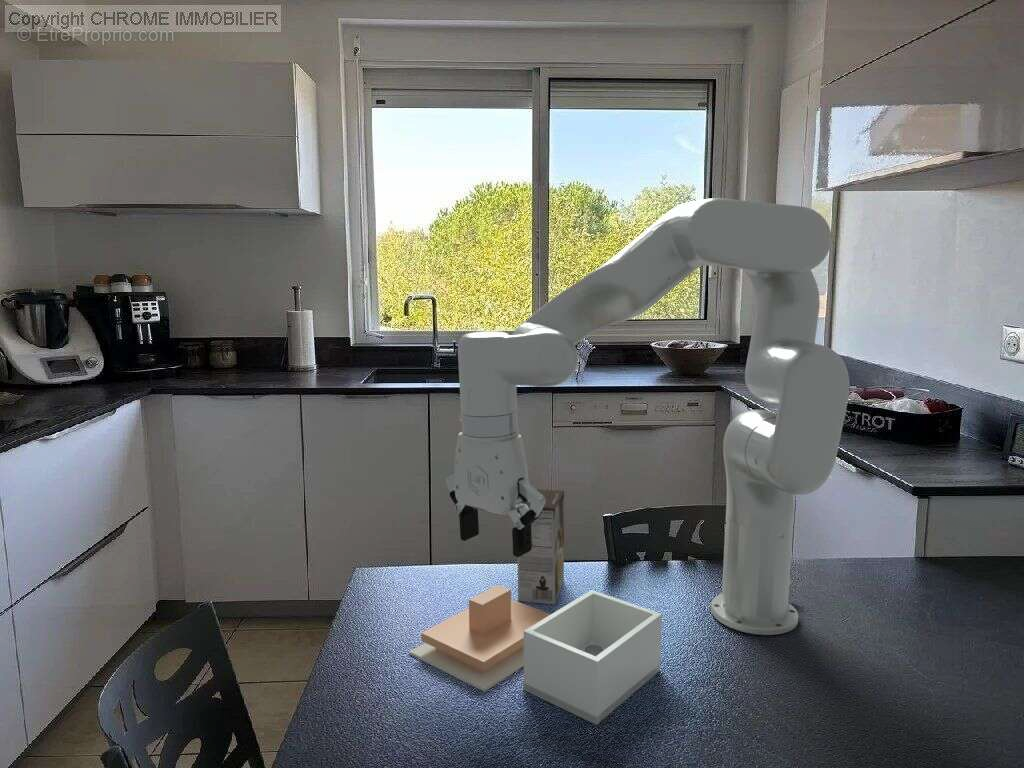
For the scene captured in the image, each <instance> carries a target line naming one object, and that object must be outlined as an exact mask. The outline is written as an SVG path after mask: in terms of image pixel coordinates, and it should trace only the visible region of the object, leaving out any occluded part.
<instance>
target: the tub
mask: <svg viewBox="0 0 1024 768" xmlns="http://www.w3.org/2000/svg"><path fill="white" fill-rule="evenodd" d="M550 614H551V615H549V616H548V617H546V618H544V619H543V620H541V621H539V622H538V623H536V624H534V625H533V626H531V627H529V628H528V629H526V630H524V666H523V691H525V692H527V693H530V694H532V695H533V696H536V697H537V698H540V699H542V700H544V701H546V702H548V703H550V704H552V705H554V706H556V707H558V708H561V709H562V710H565V711H568V712H569V713H570V714H572V715H575V716H577V717H579V718H582V719H583V720H586V721H588V722H589V723H592V724H594V725H596V726H597V725H599V724H600V723H601V722H602V721H603V720H604V719H605V718H607V717H608V716H609V715H610V714H612V713H613V711H615V710H616V709H617V708H618V707H619V706H621V704H623V703H624V702H626V700H627V699H628V698H630V697H631V696H632V695H634V693H636V692H637V691H638V690H639V689H640V688H641V687H643V686H644V685H645V684H646V683H647V682H649V681H650V680H651V679H652V678H653V677H654V676H656V675H657V674H658V673H659V672H660V671H661V652H662V651H661V650H662V626H663V625H662V619H663V618H662V617H663V613H661V612H658V611H655V610H652V609H648V608H646V607H642V606H640V605H637V604H634V603H631V602H628V601H626V600H622V599H619V598H617V597H614V596H610V595H608V594H605V593H601V592H599V591H596V590H593V589H591V590H589V591H588V592H586V593H584V594H583V595H581V596H579V597H577V598H576V599H573V600H572V601H571V602H569V603H568V604H566V605H564V606H562V607H561V608H560V609H558V610H556V611H554V612H553V613H550Z"/></svg>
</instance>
